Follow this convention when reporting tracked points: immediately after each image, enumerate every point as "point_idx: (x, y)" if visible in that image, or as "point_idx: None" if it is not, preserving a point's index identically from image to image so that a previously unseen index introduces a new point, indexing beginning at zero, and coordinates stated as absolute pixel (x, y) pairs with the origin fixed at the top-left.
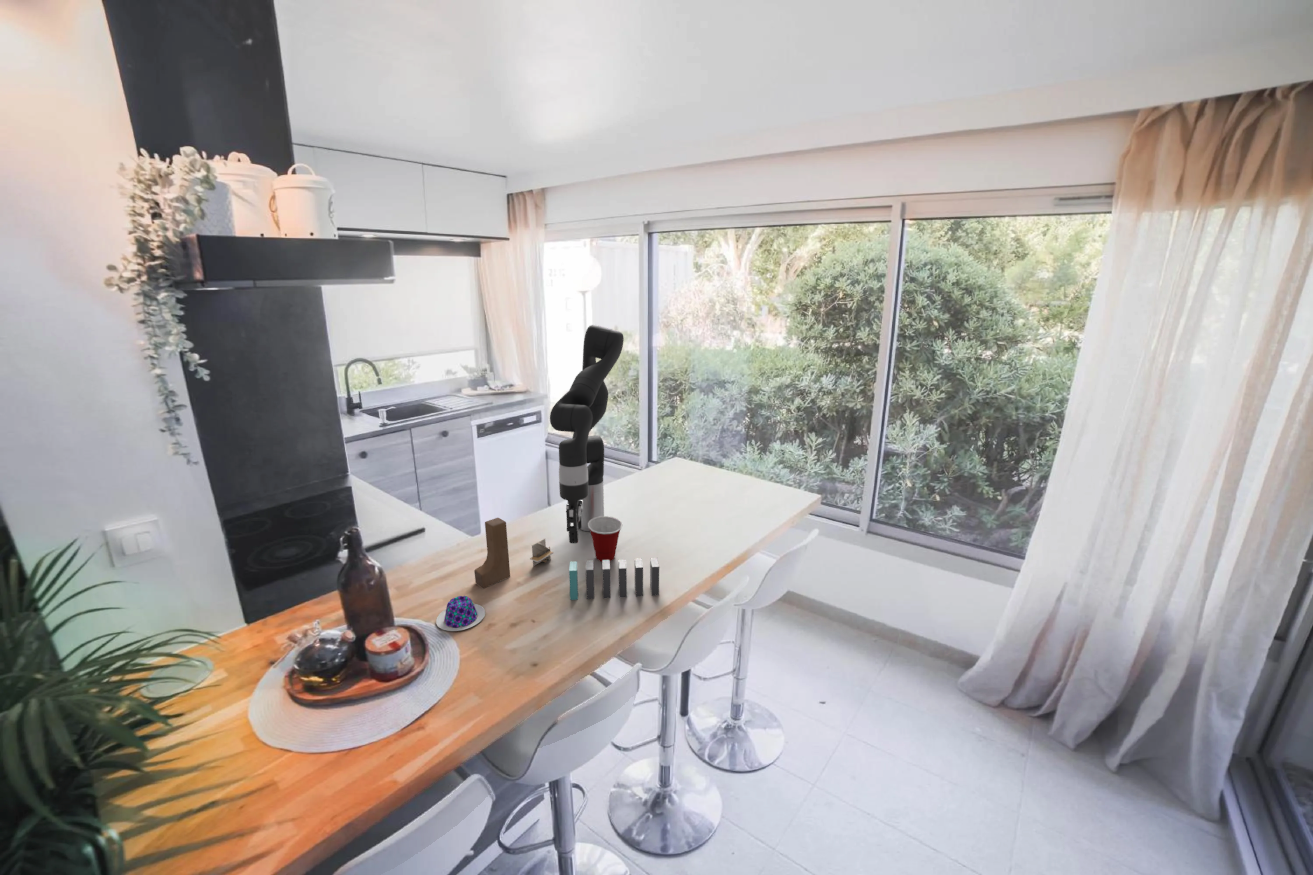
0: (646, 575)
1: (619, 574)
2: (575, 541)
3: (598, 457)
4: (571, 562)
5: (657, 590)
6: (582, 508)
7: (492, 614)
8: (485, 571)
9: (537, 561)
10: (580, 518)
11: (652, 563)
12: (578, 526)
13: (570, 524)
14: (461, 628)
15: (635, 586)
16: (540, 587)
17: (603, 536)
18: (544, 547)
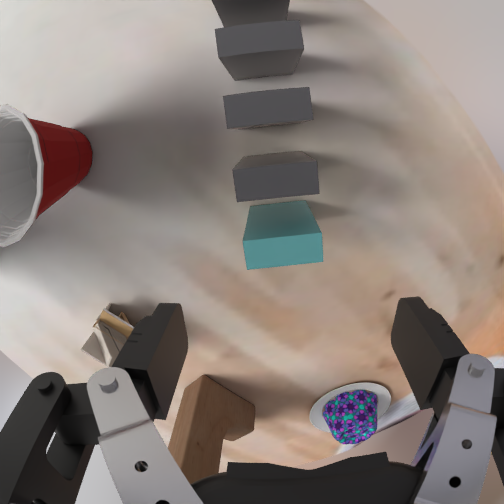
0: (162, 14)
1: (300, 54)
2: (436, 314)
3: None
4: (254, 262)
5: None
6: (147, 457)
7: (350, 372)
8: (242, 429)
9: None
10: (155, 361)
11: None
12: (179, 328)
13: (429, 435)
14: (383, 398)
15: (268, 21)
16: (243, 308)
17: (47, 164)
18: (98, 336)
